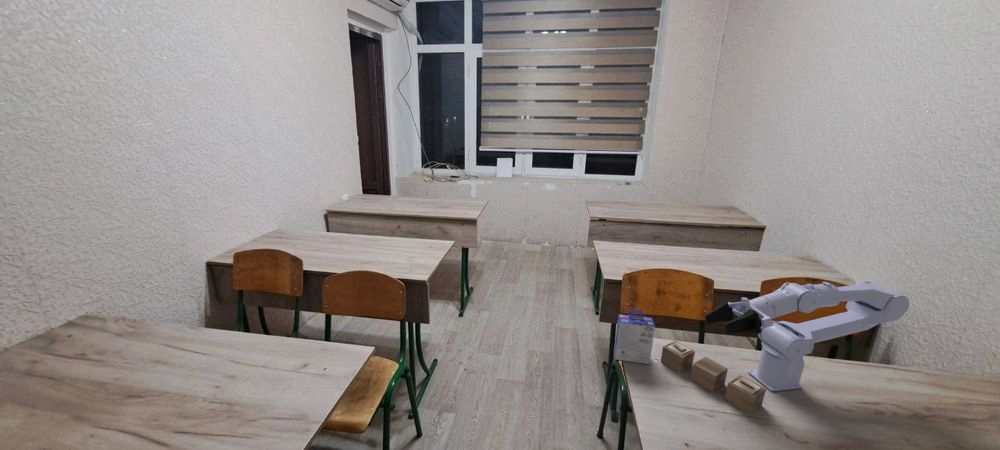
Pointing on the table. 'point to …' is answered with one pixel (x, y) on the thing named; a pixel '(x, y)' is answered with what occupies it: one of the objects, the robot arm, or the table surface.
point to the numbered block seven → (677, 356)
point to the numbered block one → (745, 394)
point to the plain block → (708, 374)
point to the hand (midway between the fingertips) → (715, 323)
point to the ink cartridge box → (634, 338)
